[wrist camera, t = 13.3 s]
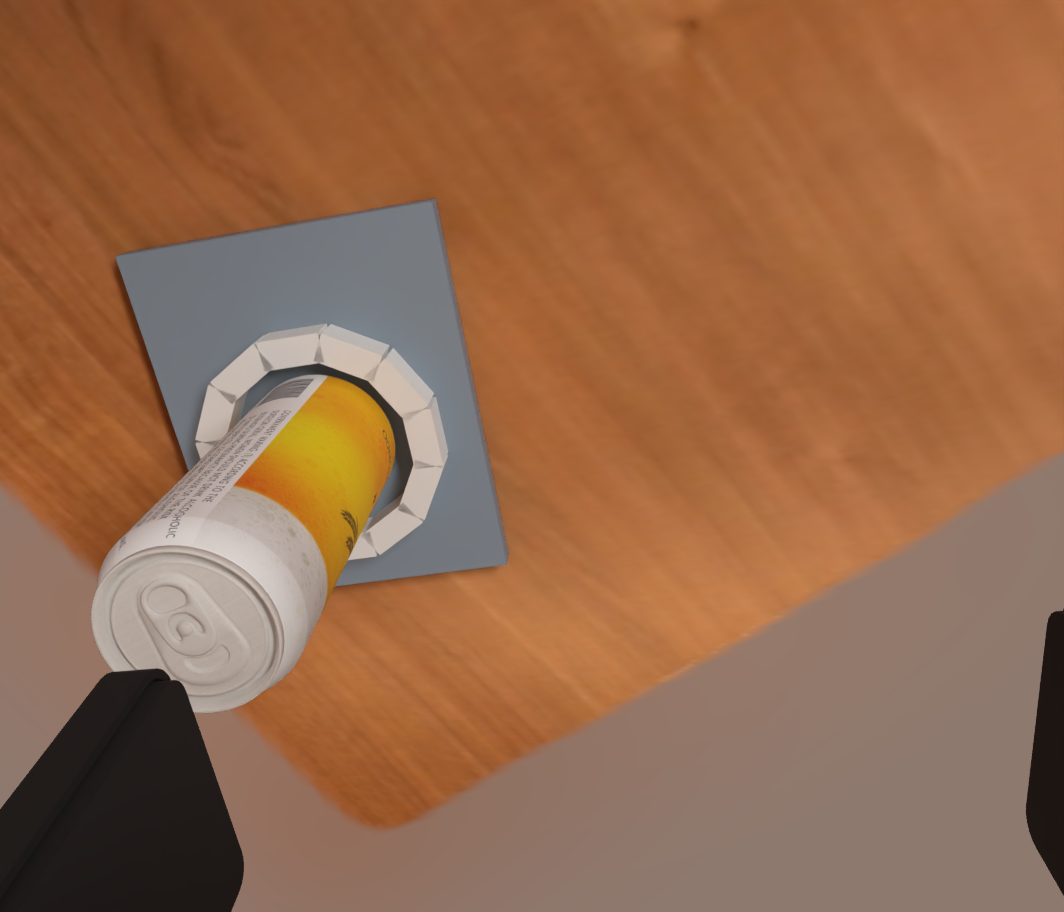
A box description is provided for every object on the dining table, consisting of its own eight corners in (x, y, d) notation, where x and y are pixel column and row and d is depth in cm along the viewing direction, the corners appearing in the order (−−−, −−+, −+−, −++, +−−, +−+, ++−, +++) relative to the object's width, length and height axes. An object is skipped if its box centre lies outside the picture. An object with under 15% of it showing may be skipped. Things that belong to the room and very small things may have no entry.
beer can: (301, 520, 40) (154, 750, 26) (231, 401, 38) (31, 582, 24) (423, 471, 39) (335, 686, 25) (356, 346, 37) (221, 504, 23)
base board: (126, 252, 37) (96, 263, 35) (435, 198, 36) (425, 206, 33) (239, 588, 43) (220, 617, 41) (508, 553, 41) (504, 581, 39)
